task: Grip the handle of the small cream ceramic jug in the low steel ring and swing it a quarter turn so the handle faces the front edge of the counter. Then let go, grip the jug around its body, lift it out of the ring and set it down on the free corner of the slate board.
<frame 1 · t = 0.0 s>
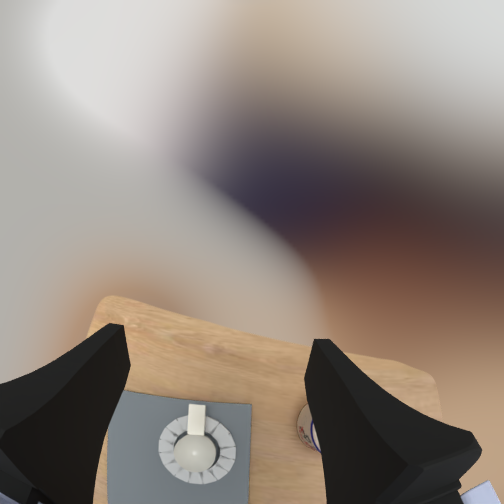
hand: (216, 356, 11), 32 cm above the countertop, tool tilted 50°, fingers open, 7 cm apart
stand: (176, 460, 33), on the countertop
jug: (197, 448, 34), point 1 cm above the countertop, touching stand
teacup with lid: (332, 428, 37), on the countertop
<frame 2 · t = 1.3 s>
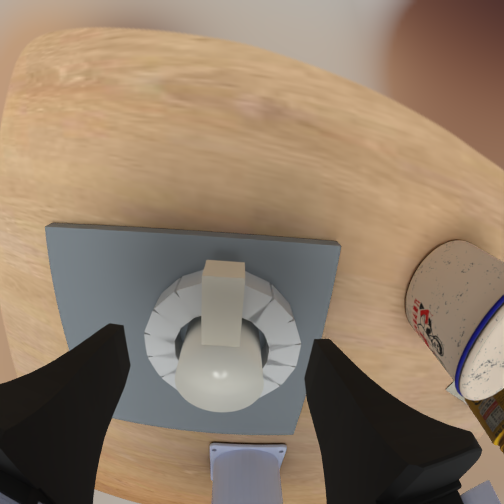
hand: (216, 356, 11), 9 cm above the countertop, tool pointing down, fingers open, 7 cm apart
condiment: (477, 375, 26), on the countertop
stand: (183, 350, 22), on the countertop
jug: (222, 334, 20), point 1 cm above the countertop, touching stand
teacup with lid: (450, 296, 22), on the countertop
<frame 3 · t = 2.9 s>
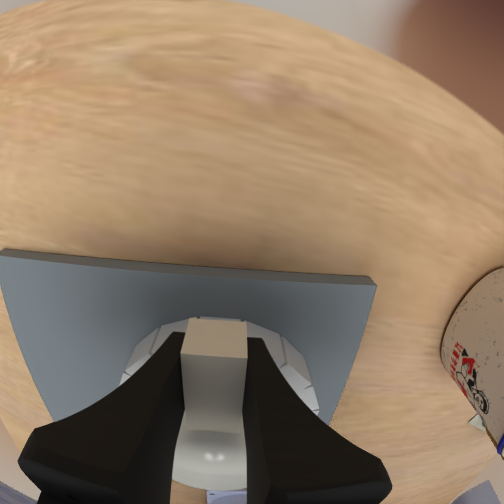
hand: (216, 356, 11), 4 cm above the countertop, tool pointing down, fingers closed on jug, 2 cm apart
condiment: (500, 403, 21), on the countertop
stand: (170, 403, 17), on the countertop
jug: (218, 393, 15), point 1 cm above the countertop, touching gripper, stand
teacup with lid: (488, 329, 16), on the countertop
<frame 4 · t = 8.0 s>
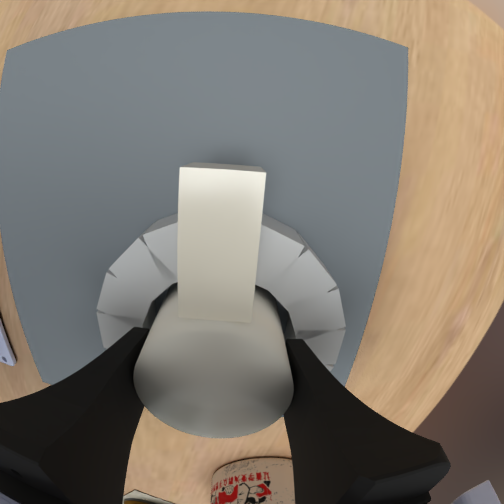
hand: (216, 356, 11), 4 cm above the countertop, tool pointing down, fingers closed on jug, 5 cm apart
stand: (168, 243, 13), on the countertop
jug: (220, 312, 13), point 1 cm above the countertop, touching gripper, stand
teacup with lid: (251, 481, 21), on the countertop
when the fingers open (5 cm above the countertop, at t = 11.8 s): jug stays where it is, resting on stand.
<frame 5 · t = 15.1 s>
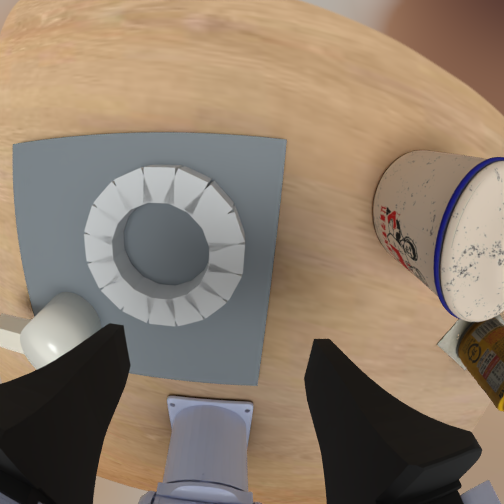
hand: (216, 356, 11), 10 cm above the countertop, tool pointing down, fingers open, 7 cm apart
condiment: (473, 331, 25), on the countertop
stand: (130, 268, 21), on the countertop
jug: (74, 319, 21), point 1 cm above the countertop, touching stand
teacup with lid: (428, 219, 20), on the countertop
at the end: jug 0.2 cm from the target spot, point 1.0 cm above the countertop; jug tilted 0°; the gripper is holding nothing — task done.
